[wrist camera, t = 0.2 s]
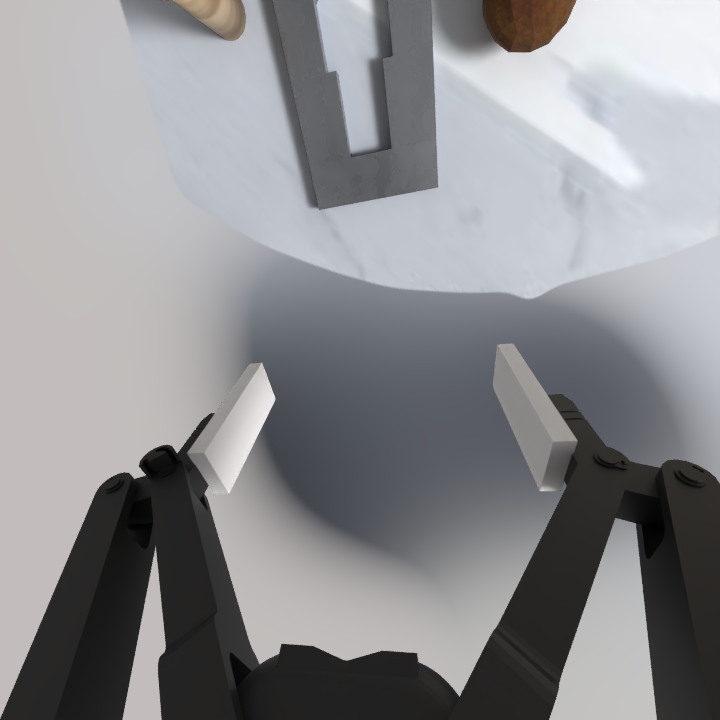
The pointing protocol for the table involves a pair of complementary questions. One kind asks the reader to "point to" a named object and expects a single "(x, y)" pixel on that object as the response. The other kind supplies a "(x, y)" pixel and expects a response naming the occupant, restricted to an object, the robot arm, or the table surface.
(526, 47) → the potato
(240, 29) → the peg
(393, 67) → the keyhole plate
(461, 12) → the table surface
